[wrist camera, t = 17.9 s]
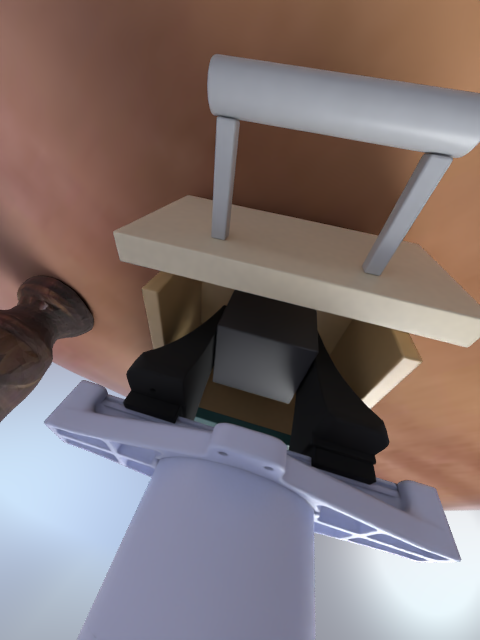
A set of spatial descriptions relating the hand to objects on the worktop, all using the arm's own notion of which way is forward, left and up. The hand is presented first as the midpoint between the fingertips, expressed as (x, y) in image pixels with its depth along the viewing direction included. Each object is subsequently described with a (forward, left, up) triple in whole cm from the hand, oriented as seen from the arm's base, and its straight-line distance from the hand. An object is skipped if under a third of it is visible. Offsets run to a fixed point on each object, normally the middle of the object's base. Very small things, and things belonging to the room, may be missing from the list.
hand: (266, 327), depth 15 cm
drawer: (0, -2, -2) cm, 3 cm away
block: (0, 0, -1) cm, 1 cm away
